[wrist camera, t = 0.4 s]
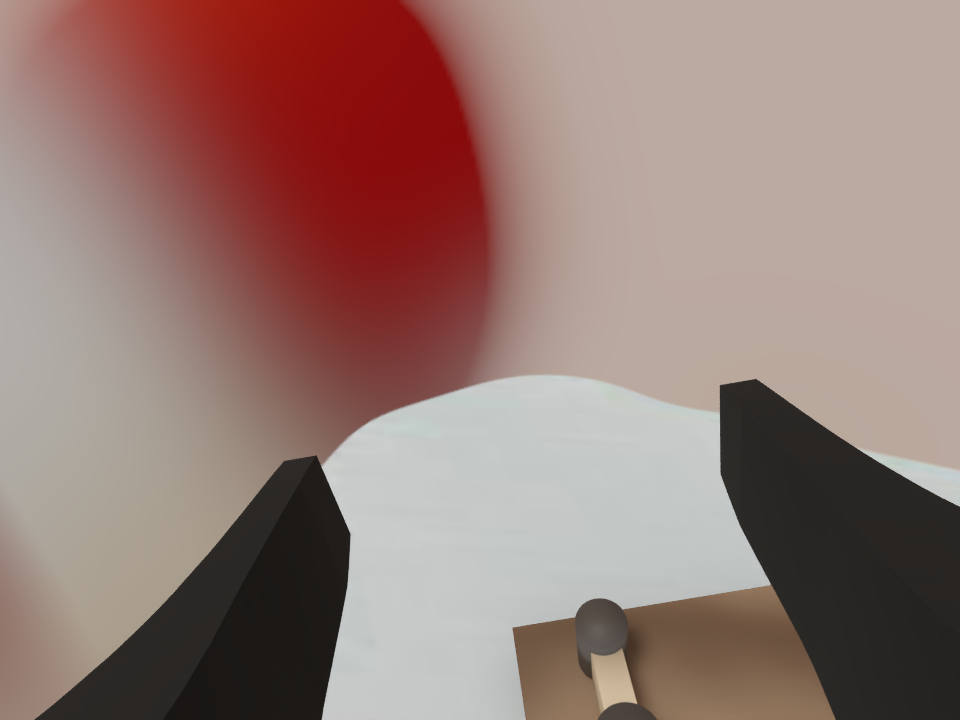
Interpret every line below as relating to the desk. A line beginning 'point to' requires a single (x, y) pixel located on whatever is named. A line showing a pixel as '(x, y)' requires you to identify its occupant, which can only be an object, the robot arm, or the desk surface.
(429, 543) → the desk surface
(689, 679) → the board
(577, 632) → the lever
